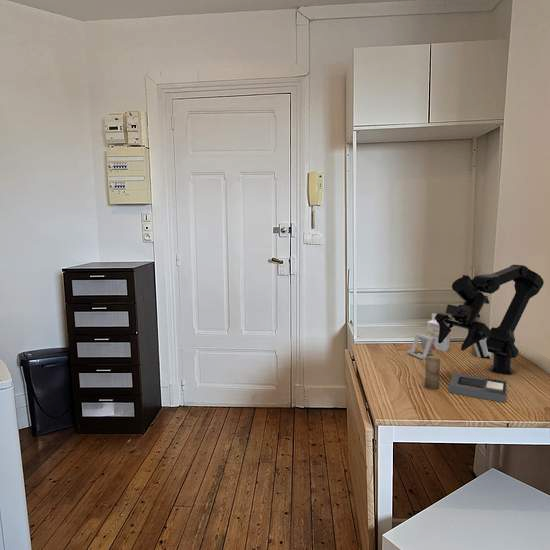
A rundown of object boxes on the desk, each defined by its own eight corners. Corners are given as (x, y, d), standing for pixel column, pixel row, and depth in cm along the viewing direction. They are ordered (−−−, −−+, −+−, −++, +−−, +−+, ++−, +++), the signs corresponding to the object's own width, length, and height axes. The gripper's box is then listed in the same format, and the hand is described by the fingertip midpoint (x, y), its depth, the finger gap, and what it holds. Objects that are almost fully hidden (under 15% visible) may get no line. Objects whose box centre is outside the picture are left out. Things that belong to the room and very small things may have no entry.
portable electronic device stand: (407, 354, 173) (407, 334, 172) (421, 351, 176) (421, 332, 175) (422, 360, 165) (423, 340, 164) (437, 357, 169) (437, 337, 168)
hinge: (491, 359, 165) (483, 335, 165) (479, 361, 167) (470, 338, 168) (492, 347, 179) (485, 325, 180) (481, 350, 182) (473, 328, 182)
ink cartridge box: (425, 347, 181) (426, 314, 179) (430, 345, 185) (431, 312, 183) (445, 351, 175) (446, 317, 173) (449, 349, 179) (451, 315, 177)
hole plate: (453, 380, 145) (453, 372, 144) (506, 388, 136) (506, 380, 136) (448, 392, 134) (448, 384, 134) (504, 402, 126) (505, 393, 126)
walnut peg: (426, 383, 142) (427, 355, 141) (440, 385, 140) (441, 357, 139) (423, 387, 138) (424, 358, 137) (437, 390, 136) (438, 360, 135)
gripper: (436, 290, 146) (415, 328, 144) (484, 299, 130) (461, 341, 127) (453, 307, 151) (433, 343, 148) (501, 317, 135) (479, 358, 132)
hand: (450, 346), depth 139 cm, fingers open, 9 cm apart
